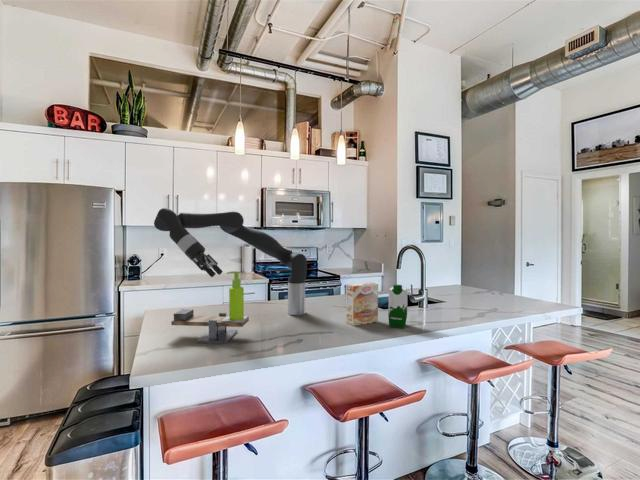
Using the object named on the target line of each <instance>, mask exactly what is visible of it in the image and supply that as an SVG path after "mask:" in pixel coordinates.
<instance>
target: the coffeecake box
mask: <svg viewBox="0 0 640 480" xmlns="http://www.w3.org/2000/svg"><path fill="white" fill-rule="evenodd" d="M345 293H346V295H345V296H346V298H345V299H346V301H345V302H346V304H345V305H346V306H345V309H346V310H345V323H346V324H349V325H350V326H352V325H353V326H352V327H355V326H356V327H357V326H361V324H362V325H368V324H367V323H369V324H374V323H373V322H376V323H379V322H378V321H379V283H375V282H371V281H369V282H357V283H355V282H354V283H346V292H345Z"/></svg>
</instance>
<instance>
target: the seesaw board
mask: <svg viewBox="0 0 640 480" xmlns="http://www.w3.org/2000/svg"><path fill="white" fill-rule="evenodd" d="M209 320H217V326H224V327H229V328H230V327H231V328H233V327H234V328H236V327H237V328H243V327H244V326H245V325H246V324H247V323H248V322H249V321H250V320H249V315H244V318H243V319H240V320H231V319H229V315H226V316H219V315H194V309H193V308H192V309H186V308H185V309H184V308H183V309H181V310H178V311H176V312H174V313H173V320H172V321H171V323H170V324H171V326H187V327H189V326H190V327H191V326H194V327H209Z"/></svg>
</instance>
